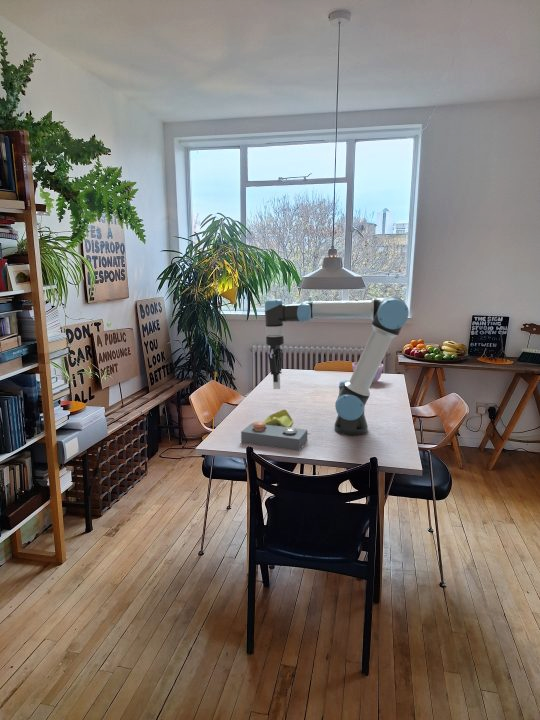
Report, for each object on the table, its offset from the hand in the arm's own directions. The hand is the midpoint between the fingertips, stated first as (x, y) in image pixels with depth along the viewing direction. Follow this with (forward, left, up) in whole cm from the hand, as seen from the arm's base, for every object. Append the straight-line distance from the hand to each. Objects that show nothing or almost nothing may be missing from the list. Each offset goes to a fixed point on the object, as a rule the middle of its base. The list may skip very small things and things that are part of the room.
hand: (276, 388), depth 204 cm
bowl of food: (-22, -111, -22) cm, 115 cm away
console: (-2, +8, -22) cm, 23 cm away
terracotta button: (+5, +8, -20) cm, 22 cm away
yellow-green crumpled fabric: (+4, -10, -22) cm, 24 cm away
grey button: (-9, +8, -21) cm, 24 cm away
